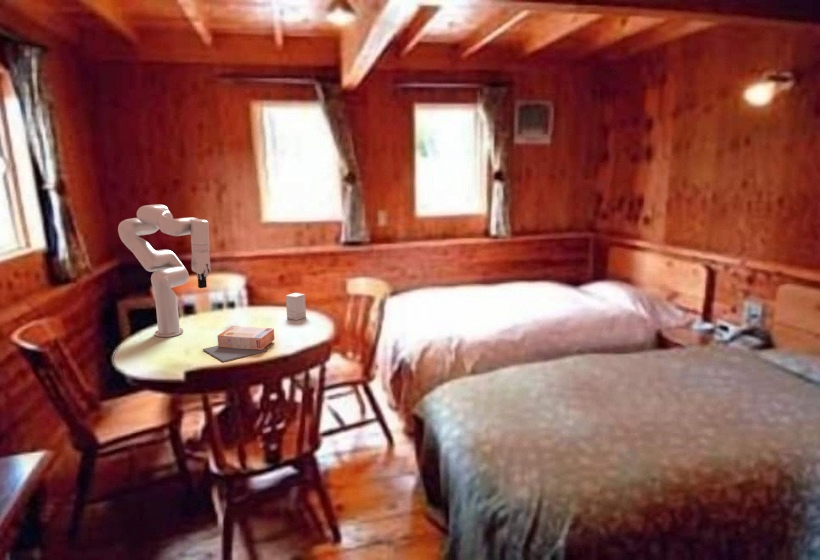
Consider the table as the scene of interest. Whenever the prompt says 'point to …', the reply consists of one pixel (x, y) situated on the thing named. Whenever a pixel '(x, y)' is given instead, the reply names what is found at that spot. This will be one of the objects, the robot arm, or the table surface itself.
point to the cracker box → (246, 338)
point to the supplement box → (296, 306)
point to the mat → (231, 353)
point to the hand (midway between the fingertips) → (202, 287)
